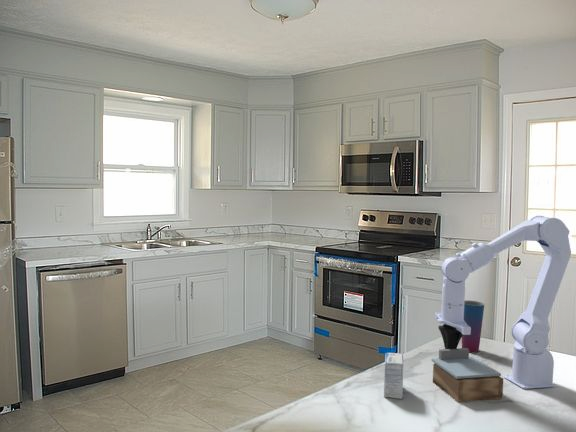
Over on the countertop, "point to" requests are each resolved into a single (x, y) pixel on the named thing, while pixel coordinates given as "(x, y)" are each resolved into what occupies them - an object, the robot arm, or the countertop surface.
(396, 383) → the medicine box
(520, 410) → the countertop surface
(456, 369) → the lid
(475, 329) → the cup
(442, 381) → the walnut box
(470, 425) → the countertop surface
